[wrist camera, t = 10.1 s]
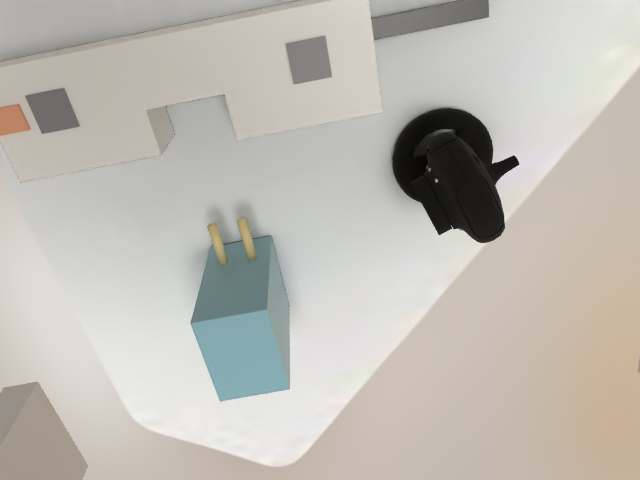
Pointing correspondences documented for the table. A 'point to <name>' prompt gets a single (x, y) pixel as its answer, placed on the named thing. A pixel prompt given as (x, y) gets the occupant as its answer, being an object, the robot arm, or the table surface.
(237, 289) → the charger
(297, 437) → the table surface
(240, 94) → the power strip
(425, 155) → the webcam
